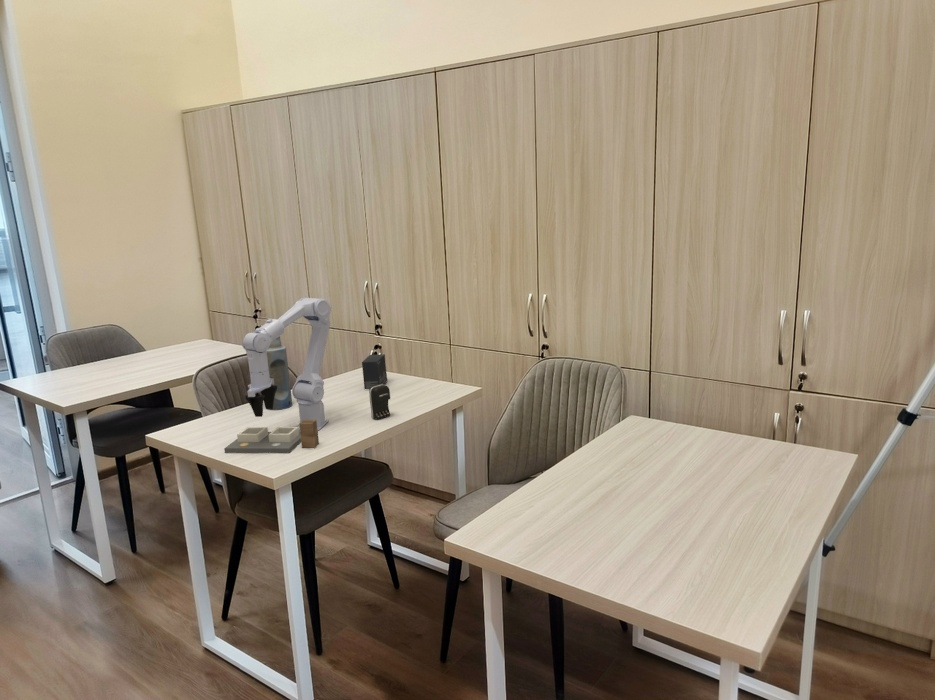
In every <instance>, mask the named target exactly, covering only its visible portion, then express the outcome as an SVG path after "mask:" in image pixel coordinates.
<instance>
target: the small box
mask: <svg viewBox="0 0 935 700" xmlns="http://www.w3.org/2000/svg"><path fill="white" fill-rule="evenodd" d="M361 365H362V366H361V367H362V375H363V385H364V390H365V389H370V388H372V387H374V386H377V385H386V383H387V382H388V375H387V373H388V372H387V365H386V355H385V354H381V353H380V354H369V355H368V356H367V357H366V358H365V359H364V360H362V362H361ZM386 381H387V382H386ZM385 382H386V383H385Z"/></svg>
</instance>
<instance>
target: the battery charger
mask: <svg viewBox="0 0 935 700" xmlns="http://www.w3.org/2000/svg"><path fill="white" fill-rule="evenodd" d="M368 392H369V395H368V396H369V403H370V414H371V419H372V420H381V418H382V419H384V417H385V418H388V417H390V416H391V411H390V409H389V400H391V391H390V388H389V386H388V385H386V384H384V385H377V386H374V387H372V388H370V390H368ZM387 416H388V417H387Z"/></svg>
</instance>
